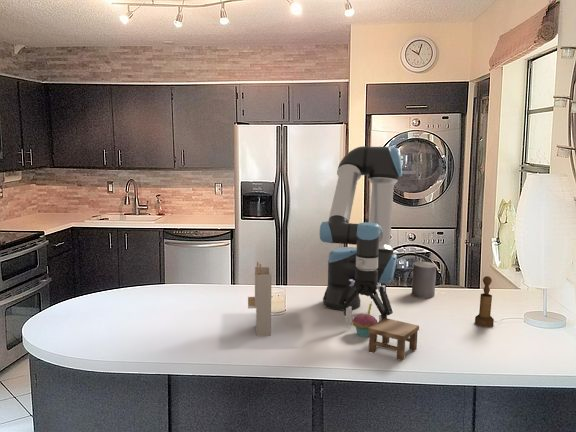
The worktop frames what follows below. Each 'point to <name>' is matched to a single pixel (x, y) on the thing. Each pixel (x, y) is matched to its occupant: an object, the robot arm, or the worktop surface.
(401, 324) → the walnut stool
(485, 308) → the brown chess pawn
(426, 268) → the pillar candle
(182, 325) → the worktop surface
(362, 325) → the cupcake
